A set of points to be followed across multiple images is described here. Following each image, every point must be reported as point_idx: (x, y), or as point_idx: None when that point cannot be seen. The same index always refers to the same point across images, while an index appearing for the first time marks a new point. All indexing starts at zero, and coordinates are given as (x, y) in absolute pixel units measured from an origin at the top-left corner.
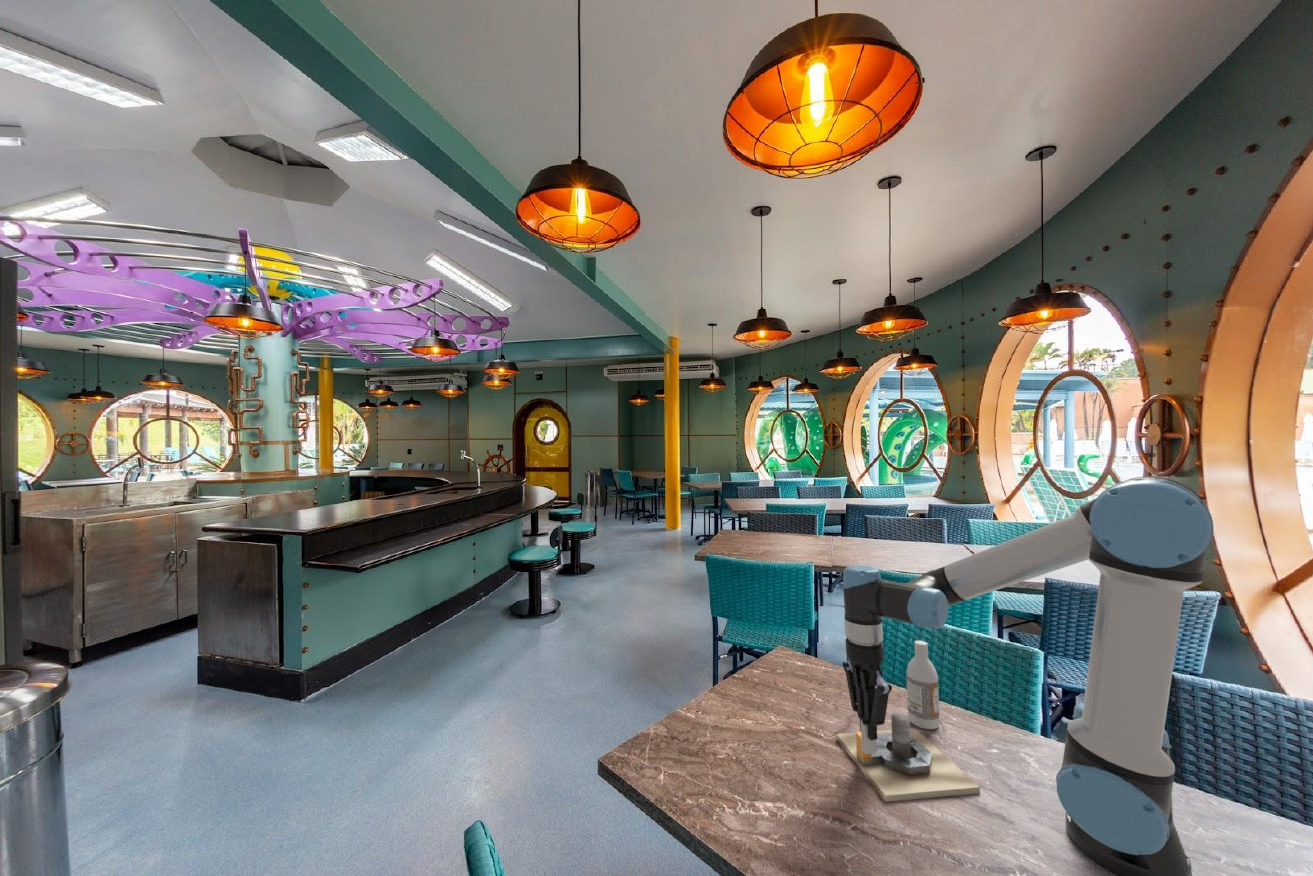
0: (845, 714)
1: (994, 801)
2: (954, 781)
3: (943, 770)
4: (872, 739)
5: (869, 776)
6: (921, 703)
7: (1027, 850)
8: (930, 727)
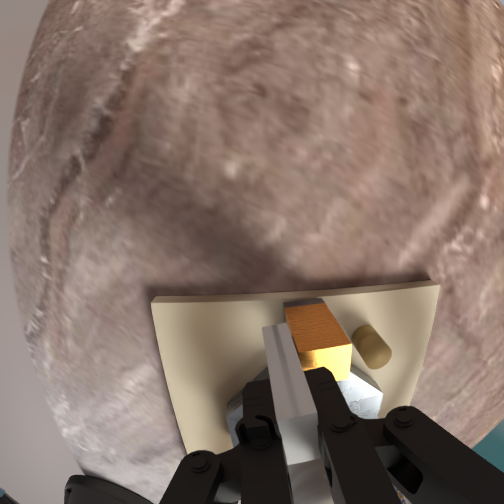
0: (486, 339)
1: None
2: None
3: None
4: (245, 391)
5: (239, 300)
6: (405, 498)
7: (81, 439)
8: None
